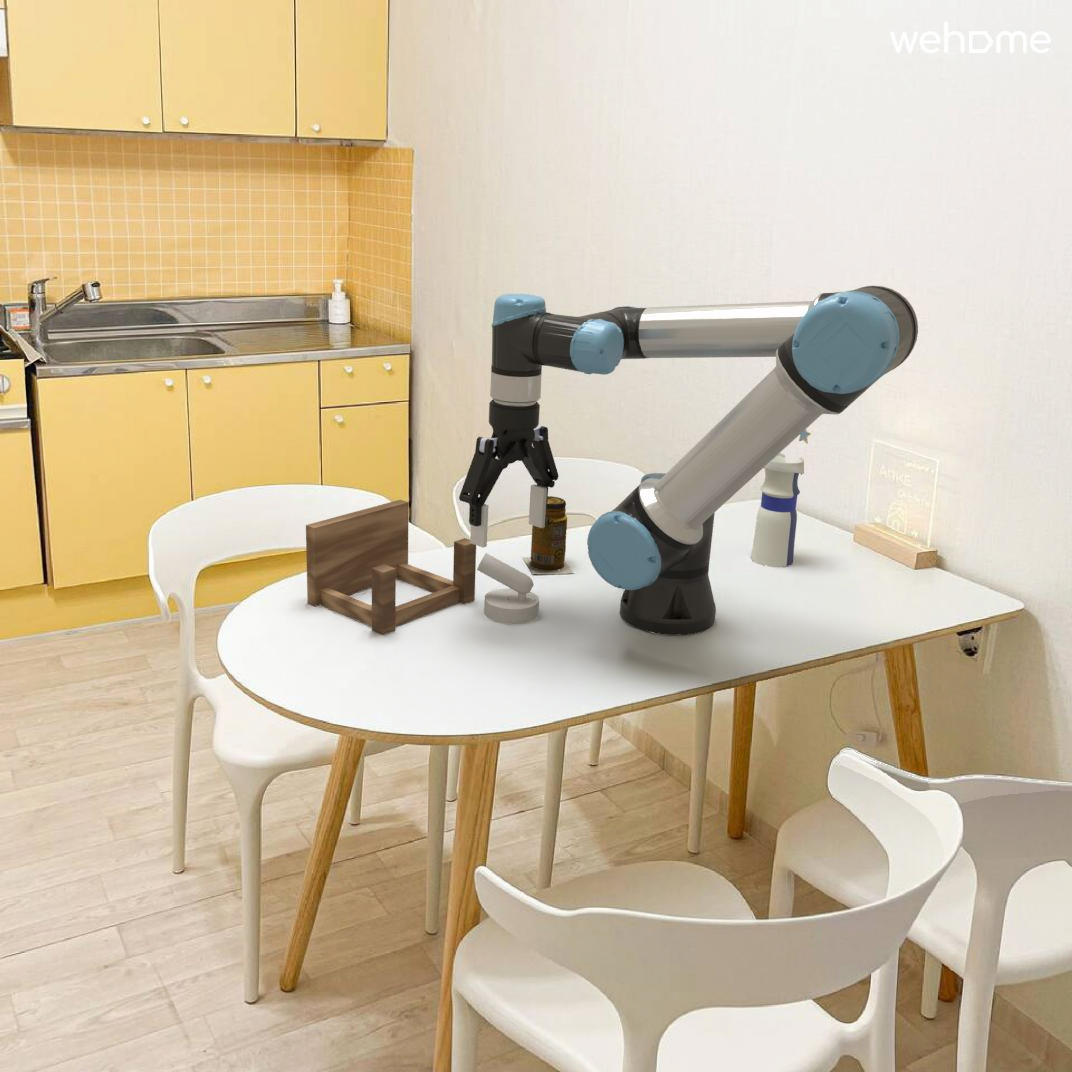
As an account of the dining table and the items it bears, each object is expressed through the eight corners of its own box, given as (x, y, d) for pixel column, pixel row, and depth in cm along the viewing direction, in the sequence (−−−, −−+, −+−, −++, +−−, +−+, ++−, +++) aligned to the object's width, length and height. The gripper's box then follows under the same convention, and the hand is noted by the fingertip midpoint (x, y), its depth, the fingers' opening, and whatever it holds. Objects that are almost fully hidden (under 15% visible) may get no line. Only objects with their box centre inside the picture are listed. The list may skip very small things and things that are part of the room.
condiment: (562, 557, 208) (565, 493, 205) (573, 574, 201) (577, 508, 197) (522, 558, 207) (525, 494, 203) (532, 575, 199) (535, 509, 195)
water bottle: (759, 548, 218) (774, 418, 210) (801, 558, 213) (818, 426, 205) (739, 559, 211) (754, 426, 203) (783, 570, 207) (799, 434, 199)
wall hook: (484, 543, 185) (545, 550, 183) (482, 599, 188) (543, 606, 186) (471, 561, 177) (535, 568, 175) (469, 619, 180) (532, 626, 178)
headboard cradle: (474, 600, 187) (476, 524, 183) (383, 635, 173) (383, 553, 168) (399, 572, 198) (400, 499, 193) (307, 602, 183) (305, 525, 179)
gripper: (548, 385, 183) (541, 512, 190) (437, 407, 165) (433, 546, 172) (586, 394, 179) (577, 523, 186) (476, 417, 161) (470, 560, 168)
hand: (508, 535), depth 179 cm, fingers open, 13 cm apart
